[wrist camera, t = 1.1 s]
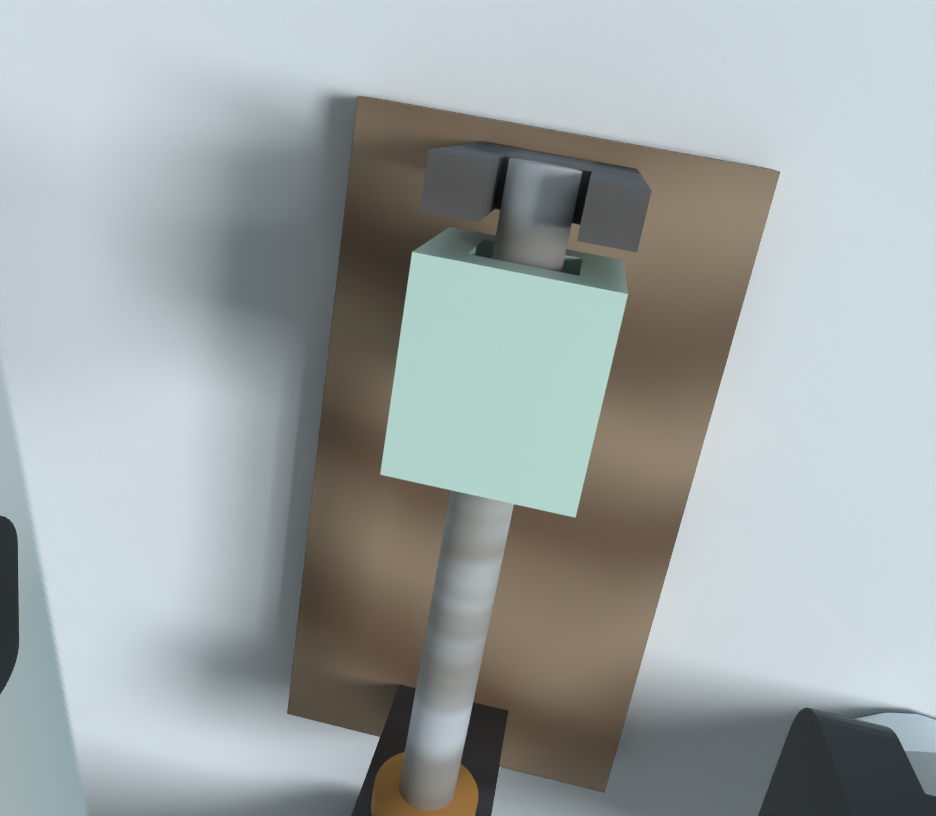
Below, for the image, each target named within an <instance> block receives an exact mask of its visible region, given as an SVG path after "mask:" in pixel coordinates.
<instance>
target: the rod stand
mask: <svg viewBox="0 0 936 816" xmlns="http://www.w3.org/2000/svg"><path fill="white" fill-rule="evenodd" d="M779 174H780V171H776V170H773V169H768V168H763V167H757V166H752V165H746V164H740V163H735V162H729V161H724V160H718V159H712V158H707V157H701V156H696V155H690V154H685V153H679V152H673V151H668V150H662V149H657V148H651V147H645V146H640V145H634V144H629V143H623V142H618V141H612V140H606V139H601V138H595V137H590V136H584V135H579V134H573V133H567V132H562V131H556V130H551V129H545V128H539V127H534V126H528V125H523V124H517V123H512V122H506V121H500V120H495V119H489V118H484V117H478V116H473V115H467V114H461V113H456V112H450V111H445V110H439V109H433V108H428V107H422V106H417V105H411V104H406V103H400V102H394V101H389V100H383V99H378V98H372V97H363V96H358V99H357V108H356V117H355V125H354V134H353V143H352V152H351V160H350V169H349V178H348V187H347V195H346V204H345V213H344V222H343V230H342V239H341V248H340V257H339V265H338V274H337V283H336V292H335V300H334V309H333V318H332V327H331V335H330V344H329V353H328V362H327V370H326V379H325V388H324V397H323V405H322V414H321V423H320V432H319V440H318V449H317V458H316V467H315V475H314V484H313V493H312V502H311V510H310V519H309V528H308V537H307V545H306V554H305V563H304V572H303V580H302V589H301V598H300V607H299V615H298V624H297V633H296V642H295V650H294V659H293V668H292V677H291V685H290V694H289V703H288V712H287V714H291V715H295V716H299V717H303V718H307V719H311V720H315V721H319V722H323V723H327V724H331V725H335V726H339V727H343V728H347V729H351V730H355V731H359V732H363V733H367V734H371V735H375V736H379V737H380V739H379V742H378V745H377V748H376V750H375V753H374V756H373V759H372V761H371V764H370V767H369V769H368V772H367V775H366V778H365V780H364V783H363V786H362V788H361V791H360V794H359V797H358V799H357V802H356V805H355V808H354V810H353V813H352V816H491V813H492V807H493V801H494V795H495V789H496V783H497V777H498V771H499V766H500V767H504V768H508V769H512V770H516V771H520V772H524V773H528V774H532V775H536V776H540V777H544V778H548V779H552V780H556V781H560V782H564V783H568V784H572V785H576V786H580V787H584V788H588V789H592V790H596V791H600V792H605V788H606V784H607V781H608V777H609V774H610V770H611V767H612V763H613V760H614V756H615V753H616V749H617V746H618V742H619V739H620V735H621V732H622V728H623V725H624V721H625V717H626V714H627V710H628V707H629V703H630V700H631V696H632V693H633V689H634V686H635V682H636V679H637V675H638V672H639V668H640V665H641V661H642V657H643V654H644V650H645V647H646V643H647V640H648V636H649V633H650V629H651V626H652V622H653V619H654V615H655V612H656V608H657V605H658V601H659V598H660V594H661V590H662V587H663V583H664V580H665V576H666V573H667V569H668V566H669V562H670V559H671V555H672V552H673V548H674V545H675V541H676V538H677V534H678V531H679V527H680V523H681V520H682V516H683V513H684V509H685V506H686V502H687V499H688V495H689V492H690V488H691V485H692V481H693V478H694V474H695V471H696V467H697V463H698V460H699V456H700V453H701V449H702V446H703V442H704V439H705V435H706V432H707V428H708V425H709V421H710V418H711V414H712V411H713V407H714V404H715V400H716V396H717V393H718V389H719V386H720V382H721V379H722V375H723V372H724V368H725V365H726V361H727V358H728V354H729V351H730V347H731V344H732V340H733V336H734V333H735V329H736V326H737V322H738V319H739V315H740V312H741V308H742V305H743V301H744V298H745V294H746V291H747V287H748V284H749V280H750V277H751V273H752V269H753V266H754V262H755V259H756V255H757V252H758V248H759V245H760V241H761V238H762V234H763V231H764V227H765V224H766V220H767V217H768V213H769V209H770V206H771V202H772V199H773V195H774V192H775V188H776V185H777V181H778V178H779ZM449 227H454V228H459V229H464V230H469V231H474V232H480V233H485V234H490V235H495V236H496V237H495V243H494V248H493V254H492V259H496V260H501V261H506V262H511V263H516V264H521V265H527V266H532V267H537V268H542V269H547V270H552V271H558V272H562V268H563V263H564V258H565V254H566V249H568V250H574V251H579V252H584V253H589V254H594V255H600V256H605V257H610V258H615V259H621V260H624V266H625V274H626V282H627V289H628V297H627V301H626V305H625V310H624V314H623V318H622V322H621V327H620V331H619V335H618V339H617V344H616V348H615V352H614V356H613V361H612V365H611V369H610V373H609V378H608V382H607V386H606V390H605V395H604V399H603V403H602V407H601V412H600V416H599V420H598V424H597V429H596V433H595V437H594V441H593V446H592V450H591V454H590V458H589V463H588V467H587V471H586V475H585V480H584V484H583V488H582V492H581V497H580V501H579V505H578V509H577V514H576V518H575V517H570V516H566V515H561V514H557V513H552V512H548V511H543V510H539V509H534V508H529V507H525V506H520V505H516V504H511V503H507V502H502V501H498V500H493V499H489V498H484V497H480V496H475V495H470V494H466V493H461V492H457V491H452V490H448V489H443V488H439V487H434V486H430V485H425V484H421V483H416V482H411V481H407V480H402V479H398V478H393V477H389V476H384V475H380V472H381V465H382V458H383V451H384V444H385V438H386V431H387V424H388V417H389V410H390V403H391V396H392V389H393V382H394V375H395V368H396V361H397V354H398V347H399V340H400V333H401V326H402V319H403V312H404V305H405V298H406V291H407V284H408V277H409V270H410V263H411V256H412V252H413V251H414V250H416V249H417V248H419V247H420V246H422V245H423V244H425V243H426V242H428V241H429V240H431V239H432V238H434V237H435V236H437V235H438V234H440V233H441V232H443V231H444V230H446V229H447V228H449Z"/></svg>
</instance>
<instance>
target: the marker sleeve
mask: <svg viewBox="0 0 936 816" xmlns="http://www.w3.org/2000/svg"><path fill="white" fill-rule="evenodd" d="M495 237H496V236H495V235H490V234H485V233H480V232H474V231H469V230H464V229H459V228H454V227H449V228H447V229H446V230H444V231H443V232H441V233H440V234H438V235H437V236H435V237H434V238H432V239H431V240H429V241H428V242H426V243H425V244H423V245H422V246H420V247H419V248H417V249H416V250H414V251H413V252H412V256H411V263H410V270H409V277H408V284H407V291H406V298H405V305H404V312H403V319H402V326H401V333H400V340H399V347H398V354H397V361H396V368H395V375H394V382H393V389H392V396H391V403H390V410H389V417H388V424H387V431H386V438H385V444H384V451H383V458H382V465H381V472H380V475H384V476H389V477H393V478H398V479H402V480H407V481H411V482H416V483H421V484H425V485H430V486H434V487H439V488H443V489H448V490H452V491H457V492H461V493H466V494H470V495H475V496H480V497H484V498H489V499H493V500H498V501H502V502H507V503H511V504H516V505H520V506H525V507H529V508H534V509H539V510H543V511H548V512H552V513H557V514H561V515H566V516H570V517H575V518H576V514H577V509H578V505H579V501H580V497H581V492H582V488H583V484H584V480H585V475H586V471H587V467H588V463H589V458H590V454H591V450H592V446H593V441H594V437H595V433H596V429H597V424H598V420H599V416H600V412H601V407H602V403H603V399H604V395H605V390H606V386H607V382H608V378H609V373H610V369H611V365H612V361H613V356H614V352H615V348H616V344H617V339H618V335H619V331H620V327H621V322H622V318H623V314H624V310H625V305H626V301H627V297H628V289H627V282H626V274H625V266H624V260H621V259H615V258H610V257H605V256H600V255H594V254H589V253H584V252H579V251H574V250H568V249H566V254H565V258H564V263H563V268H562V272H558V271H552V270H547V269H542V268H537V267H532V266H527V265H521V264H516V263H511V262H506V261H501V260H496V259H492V254H493V248H494V243H495Z"/></svg>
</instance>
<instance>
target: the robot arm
mask: <svg viewBox="0 0 936 816" xmlns="http://www.w3.org/2000/svg"><path fill="white" fill-rule="evenodd" d="M18 606H19V605H18V542H17V533H16V529H15V527H14V525H13V523H12V522H11V521H10V520H9V519H7V518H6V517H3V516H0V694H1V692H2V691H3V689H4V687H5V686H6V684H7V682H8V680H9V678H10V676H11V673H12V671H13V668H14V666H15V662H16V658H17V655H18V648H19V611H18V610H19V607H18ZM758 816H936V796H932V795H928V794H925V792H924V790H923V788H922V786H921V784H920V782H919V780H918V778H917V776H916V774H915V771H914V769H913V767H912V765H911V763H910V761H909V759H908V757H907V755H906V753H905V751H904V749H903V746H902V744H901V742H900V740H899V738H898V737H897V735H896V733H895V732H894V731H893V730H892V729H891V728H889V727H887V726H883V725H878V724H874V723H870V722H866V721H861V720H857V719H853V718H849V717H844V716H840V715H836V714H832V713H827V712H823V711H819V710H815V709H810V708H804V709H802V710H801V711H800V712H799V713H798V714H797V716H796V717H795V719H794V721H793V723H792V725H791V728H790V730H789V733H788V736H787V739H786V741H785V744H784V747H783V749H782V752H781V755H780V758H779V760H778V763H777V766H776V769H775V771H774V774H773V777H772V780H771V782H770V785H769V788H768V790H767V793H766V796H765V799H764V801H763V804H762V807H761V810H760V812H759V815H758Z"/></svg>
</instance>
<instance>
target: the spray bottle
mask: <svg viewBox="0 0 936 816" xmlns="http://www.w3.org/2000/svg"><path fill="white" fill-rule="evenodd" d="M855 719H857V720H861V721H866V722H870V723H874V724H878V725H883V726H887V727H889V728H891V729H892V730H893V731H894V732H895V733H896V735H897V737H898V738H899V740H900V742H901V744H902V746H903V749H904V751H905V753H906V755H907V757H908V759H909V761H910V763H911V765H912V767H913V769H914V771H915V774H916V776H917V778H918V780H919V782H920V784H921V786H922V788H923V790H924V792H925V794H928V795H932V796H936V720H935V719H932V718H928V717H925V716H922V715H919V714H906V713H881V714H876V715H870V716H865V717H860V718H855Z"/></svg>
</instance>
